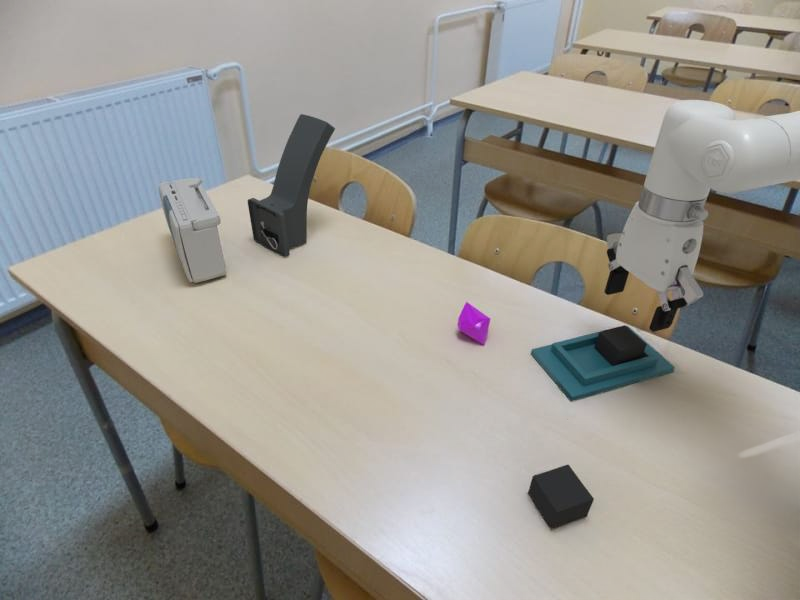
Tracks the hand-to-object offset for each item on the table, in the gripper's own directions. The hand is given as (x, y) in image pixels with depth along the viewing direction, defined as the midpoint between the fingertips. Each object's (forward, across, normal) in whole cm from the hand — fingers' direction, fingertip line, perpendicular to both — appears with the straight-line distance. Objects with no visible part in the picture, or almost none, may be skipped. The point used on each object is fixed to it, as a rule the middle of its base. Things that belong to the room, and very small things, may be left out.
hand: (635, 309), depth 77 cm
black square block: (+10, -18, +24) cm, 32 cm away
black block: (+9, 0, 0) cm, 9 cm away
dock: (+10, +1, +3) cm, 10 cm away
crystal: (+10, +14, +19) cm, 25 cm away
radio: (+9, +54, +61) cm, 82 cm away
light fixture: (+9, +57, +40) cm, 70 cm away
